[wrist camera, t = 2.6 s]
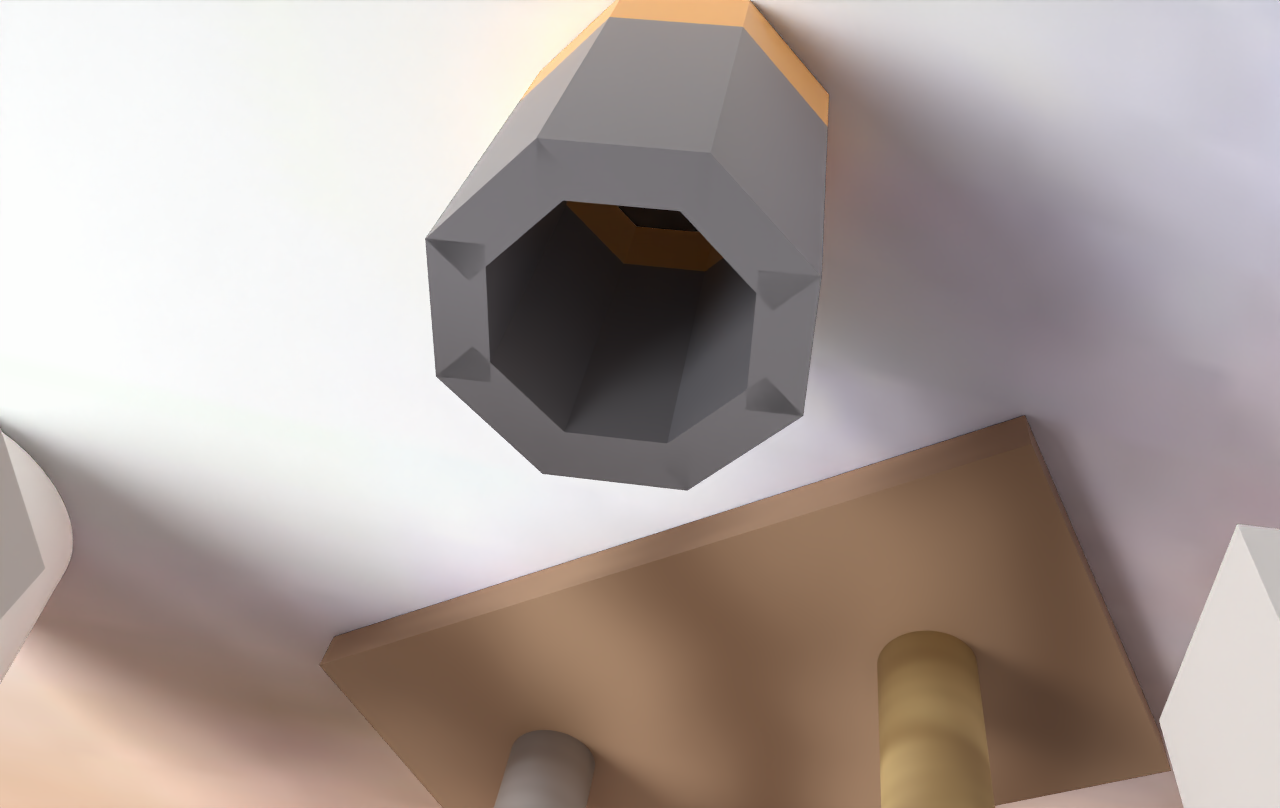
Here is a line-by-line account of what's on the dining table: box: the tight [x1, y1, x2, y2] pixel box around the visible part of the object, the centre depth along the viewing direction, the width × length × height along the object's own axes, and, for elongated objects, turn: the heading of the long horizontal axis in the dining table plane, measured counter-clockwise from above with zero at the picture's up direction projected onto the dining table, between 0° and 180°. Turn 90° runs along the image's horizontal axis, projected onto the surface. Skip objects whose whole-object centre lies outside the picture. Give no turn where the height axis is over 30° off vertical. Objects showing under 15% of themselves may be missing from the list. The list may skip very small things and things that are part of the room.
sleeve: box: [425, 0, 829, 490], centre depth 19 cm, size 5×5×7 cm
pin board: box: [320, 415, 1171, 808], centre depth 26 cm, size 18×10×7 cm, turn 118°
